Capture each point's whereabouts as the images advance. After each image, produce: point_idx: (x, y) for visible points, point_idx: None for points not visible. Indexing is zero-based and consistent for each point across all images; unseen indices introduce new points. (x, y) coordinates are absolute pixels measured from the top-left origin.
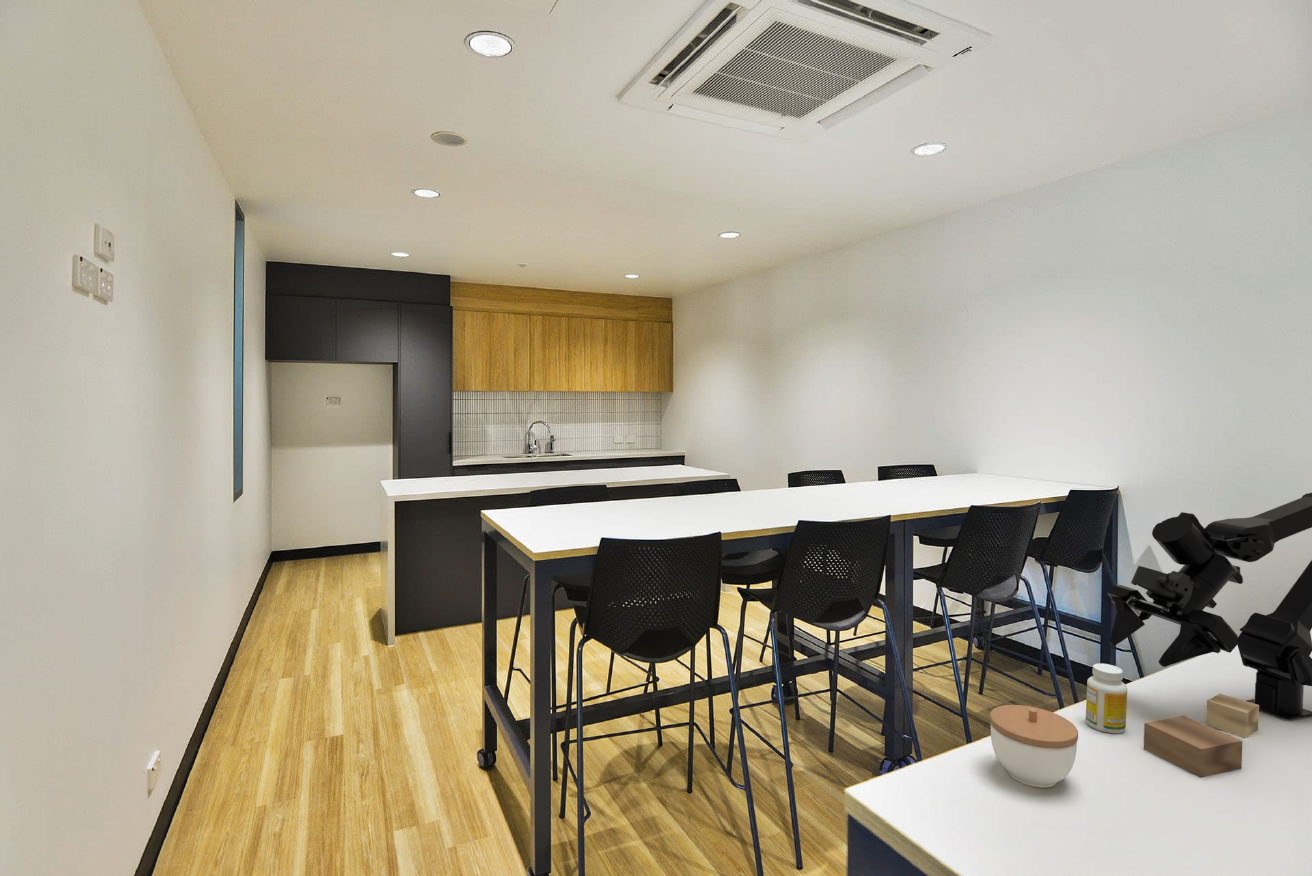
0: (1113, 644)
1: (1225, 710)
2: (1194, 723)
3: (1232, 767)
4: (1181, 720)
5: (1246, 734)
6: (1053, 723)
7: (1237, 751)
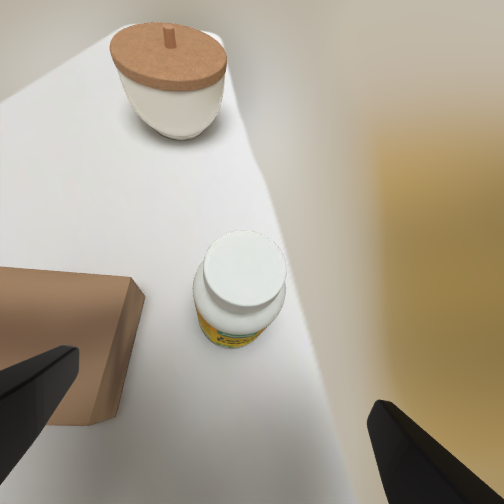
0: (370, 419)
1: None
2: None
3: None
4: (80, 381)
5: None
6: (149, 53)
7: None
